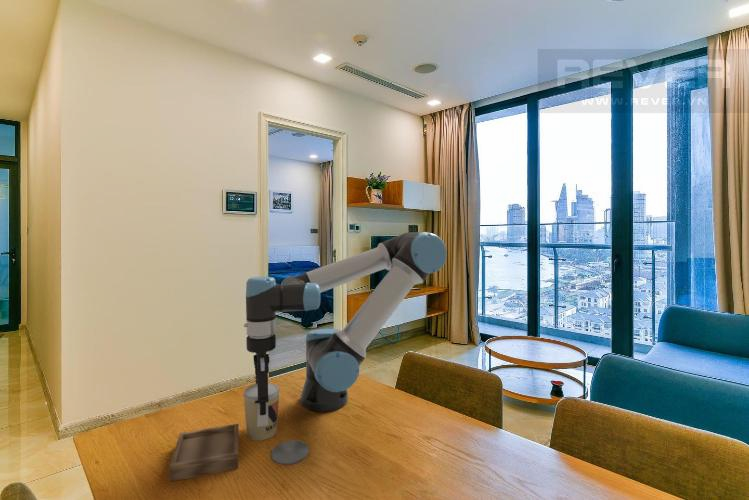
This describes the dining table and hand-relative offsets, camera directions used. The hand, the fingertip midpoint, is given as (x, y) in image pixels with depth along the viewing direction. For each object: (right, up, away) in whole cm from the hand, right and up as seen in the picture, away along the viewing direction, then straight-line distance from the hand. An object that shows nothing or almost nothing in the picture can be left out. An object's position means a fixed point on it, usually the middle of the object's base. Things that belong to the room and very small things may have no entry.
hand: (261, 416), depth 100 cm
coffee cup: (0, -5, 0) cm, 5 cm away
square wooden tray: (-10, -5, -11) cm, 15 cm away
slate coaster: (+10, -5, -9) cm, 14 cm away
